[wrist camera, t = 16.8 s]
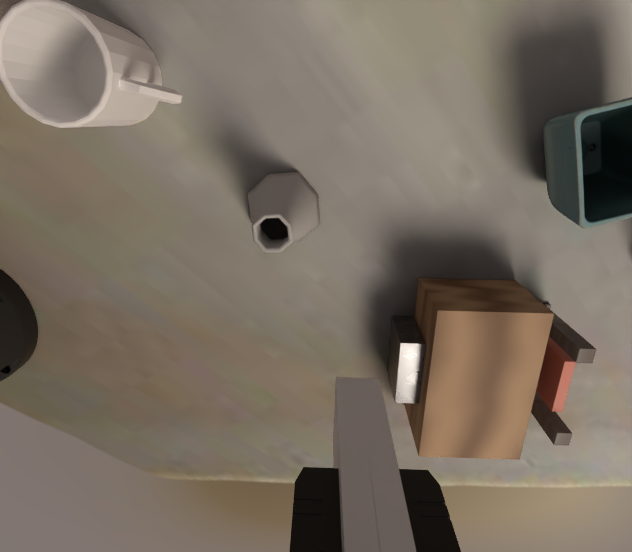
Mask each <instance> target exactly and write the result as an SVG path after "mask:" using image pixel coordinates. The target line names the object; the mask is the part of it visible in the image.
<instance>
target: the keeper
mask: <svg viewBox="0 0 632 552" xmlns="http://www.w3.org/2000/svg"><path fill="white" fill-rule="evenodd" d="M575 363H576V362H575V361H574V360H573V359H572V358H571V357H570V356H569V355H568V354H567V353H566V352H565V351H564V350H563V349H562V348H560V347H559V346H558V345H557V344H556V343H555V342H554V341H553V340H552V339H551V338H550V337H549V338H548V342H547V346H546V350H545V355H544V359H543V363H542V367H541V371H540V376H539V380H538V384H537V388H536V392H537V393H538V394H539V395H540V397H541V398H542V399H543V401H544V402H545V403H546V405H547V406H548V407H549V408H550V410H551V411H552V412H562V411H563V408H564V404H565V400H566V396H567V393H568V389H569V385H570V382H571V378H572V374H573V370H574V367H575Z"/></svg>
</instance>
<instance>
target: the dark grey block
mask: <svg viewBox="0 0 632 552" xmlns="http://www.w3.org/2000/svg"><path fill="white" fill-rule="evenodd" d="M425 349H426V343H425V340H424V338H423V336H422V334H421V331H420V329H419V327H418V324H417V322H416V320H415V318H414V316H392V318H391V330H390V342H389V354H388V366H387V371H388V375H389V380H390V384H391V388H392V392H393V396H394V400H395V403H418V404H419V400H420V392H421V383H422V374H423V366H424V357H425Z"/></svg>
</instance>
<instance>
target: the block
mask: <svg viewBox="0 0 632 552" xmlns="http://www.w3.org/2000/svg"><path fill="white" fill-rule="evenodd" d="M550 307H551V305H550V304H549V303H541V302H540V301H539V300H538V299H536V298H535V297H534V296H533V295H532V294H531V293H529V292H528V291H527V290H526V289H525V288H524V287H522V286H521V285H520V284H519V283H518V282H517V281H515V280H479V279H440V278H419V281H418V290H417V299H416V308H415V317H414V318H415V320H416V322H417V324H418V327H419V329H420V331H421V334H422V336H423V338H424V340H425V343H426V349H425V357H424V366H423V374H422V383H421V392H420V400H419V404H418V403H405V408H406V412H407V415H408V419H409V423H410V426H411V430H412V434H413V437H414V441H415V445H416V448H417V452H418V456H425V457H457V458H488V459H520V456H521V452H522V447H523V443H524V439H525V435H526V430H527V426H528V422H529V418H530V414H531V413H532V414H533V416H534V417H535V418H536V420H537V421H538V423H539V424H540V426H541V427H542V428H543V430H544V431H545V433H546V434H547V436H548V437H549V438H550V440H551V441H552V443H553V444H554V445H569V444H570V440H571V437H572V432H571V431H570V430H569V429H568V427H567V426H566V425H565V423H564V422H563V421H562V420H561V418H560V417H559V416H558V415H557V413H556V412H552V411H551V410H550V408H549V407H548V406H547V405H546V403H545V402H544V401H543V399H542V398H541V397H540V395H539V394H538V393H537V392H536V388H537V384H538V380H539V376H540V371H541V367H542V363H543V359H544V355H545V350H546V346H547V342H548V338H549V337H550V338H551V339H552V340H553V341H554V342H555V343H556V344H557V345H558V346H559V347H560V348H562V349H563V350H564V351H565V352H566V353H567V354H568V355H569V356H570V357H571V358H572V359H573V360H574V361H575V362H576V363H593V359H594V356H595V352H596V349H595V348H594V347H593V346H592V345H591V344H590V343H588V342H587V341H586V340H585V339H584V338H583V337H581V336H580V335H579V334H578V333H577V332H576V331H574V330H573V329H572V328H571V327H570V326H569V325H567V324H566V323H565V322H564V321H563V320H562V319H560V318H559V317H558V316H557V315H556V314H555V313H553V312H552V311H551V310H550Z"/></svg>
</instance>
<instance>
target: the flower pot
mask: <svg viewBox="0 0 632 552" xmlns="http://www.w3.org/2000/svg"><path fill="white" fill-rule="evenodd" d="M543 139H544V152H545V165H546V180H547V191H548V195H549V199H550V201H551V203H552V205H553V206H554V207H555V208H556V209H557V210H558V211H559V212H560V213H562V214H563V215H564V216H566V217H567V218H569V219H570V220H572V221H573V222H574V223H576V224H577V225H579V226H580V227H582V228H584V229H586V228H591V227H596V226H600V225H604V224H608V223H612V222H615V221H619V220H623V219H628V218H632V97H631V98H627V99H623V100H619V101H616V102H612V103H608V104H604V105H600V106H596V107H592V108H588V109H584V110H581V111H577V112H573V113H569V114H565V115H561V116H557V117H554V118H552V119H550V120H549V121H548V122H547V123H546V124H545V126H544V130H543ZM590 145H593V146H594V149H593V150H589V146H590Z"/></svg>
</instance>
